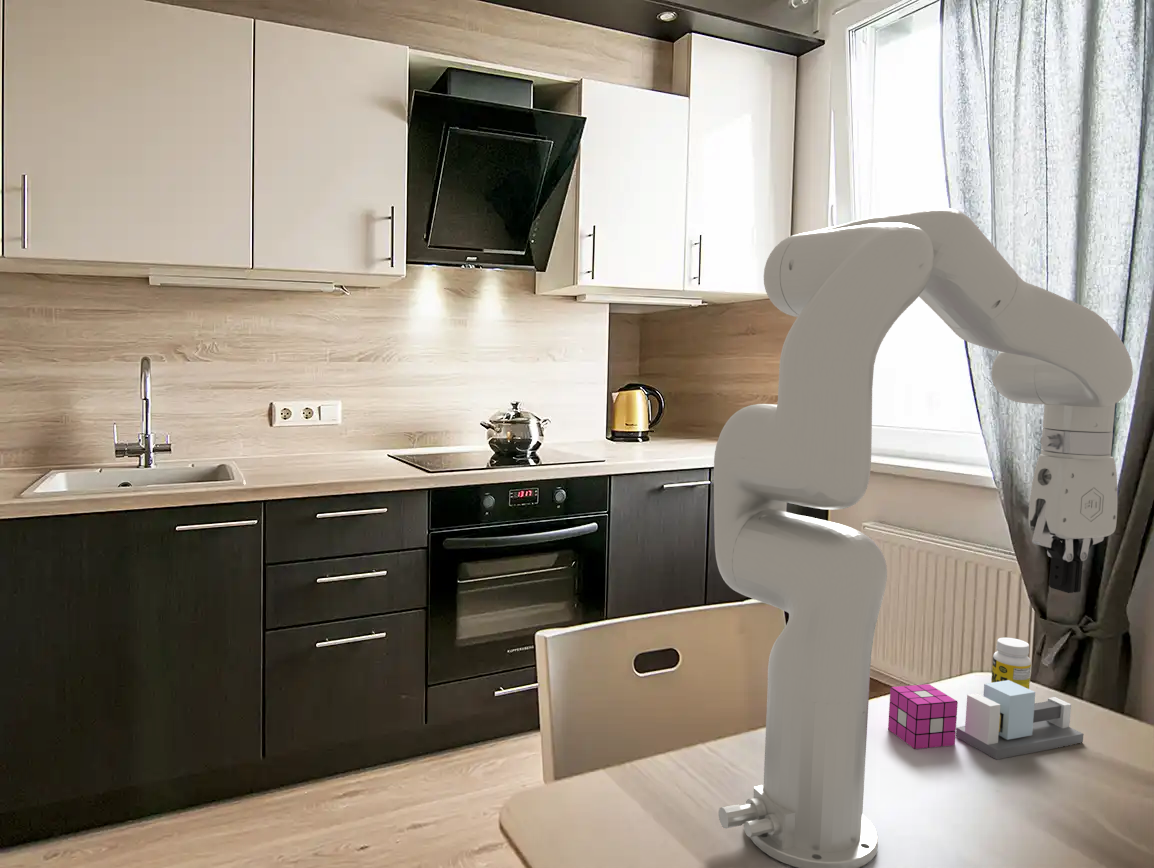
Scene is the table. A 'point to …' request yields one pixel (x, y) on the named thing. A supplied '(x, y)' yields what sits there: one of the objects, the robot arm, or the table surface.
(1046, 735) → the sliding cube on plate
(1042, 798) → the table surface
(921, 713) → the puzzle toy
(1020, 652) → the supplement bottle
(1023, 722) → the sleeve
